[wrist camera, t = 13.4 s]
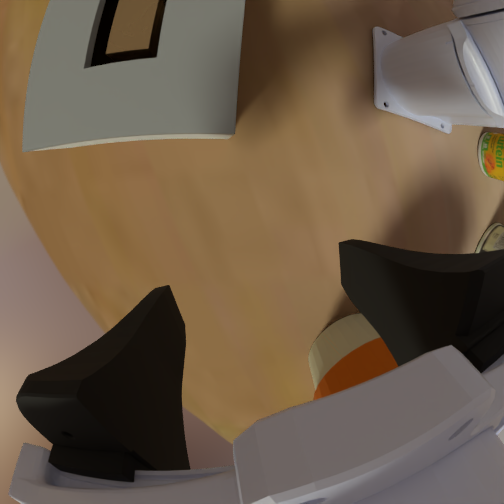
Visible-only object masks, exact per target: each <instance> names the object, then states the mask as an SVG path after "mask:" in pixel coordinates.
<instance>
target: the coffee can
mask: <svg viewBox="0 0 504 504" xmlns="http://www.w3.org/2000/svg"><path fill="white" fill-rule="evenodd" d="M500 249H504V225H502V224H501V223H494V224H493V225H491V226H490V227H489V228H488V229H487V231H486V232H485V233H484V235H483V236H482V238H481V240H480V242H479V244H478V246H477V249H476V252H475V253H482V252H488V251H494V250H500Z"/></svg>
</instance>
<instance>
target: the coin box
mask: <svg viewBox="0 0 504 504" xmlns="http://www.w3.org/2000/svg"><path fill="white" fill-rule="evenodd" d="M105 2H106V0H50V2H49V5H48V8H47V10H46V13H45V16H44V19H43V22H42V25H41V29H40V32H39V35H38V39H37V43H36V47H35V51H34V55H33V59H32V64H31V69H30V75H29V80H28V87H27V94H26V102H25V111H24V124H23V152H28V151H37V150H48V149H60V148H72V147H78V146H86V145H94V144H102V143H112V142H123V141H136V140H153V139H228V138H230V137H231V136H233V135H234V134H235V124H236V108H237V93H238V79H239V66H240V53H241V41H242V30H243V19H244V8H245V0H167V2H166V7H165V12H164V17H163V22H162V27H161V33H160V39H159V46H158V52H157V58H147V59H137V60H129V61H122V62H116V63H110V64H104V65H99V66H94V67H91V61H92V55H93V50H94V45H95V40H96V36H97V31H98V27H99V23H100V19H101V15H102V12H103V8H104V5H105Z"/></svg>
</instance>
